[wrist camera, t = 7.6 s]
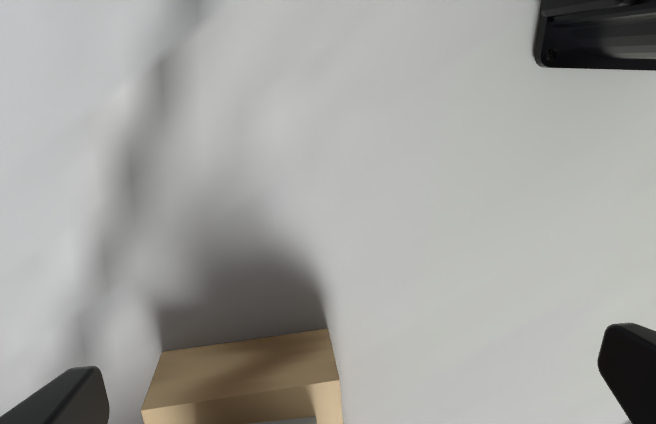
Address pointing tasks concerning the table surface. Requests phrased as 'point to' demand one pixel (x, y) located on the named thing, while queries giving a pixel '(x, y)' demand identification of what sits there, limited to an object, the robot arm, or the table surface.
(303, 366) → the oak block
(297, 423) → the stone cube
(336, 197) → the table surface
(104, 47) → the table surface
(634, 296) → the table surface
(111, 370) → the table surface
